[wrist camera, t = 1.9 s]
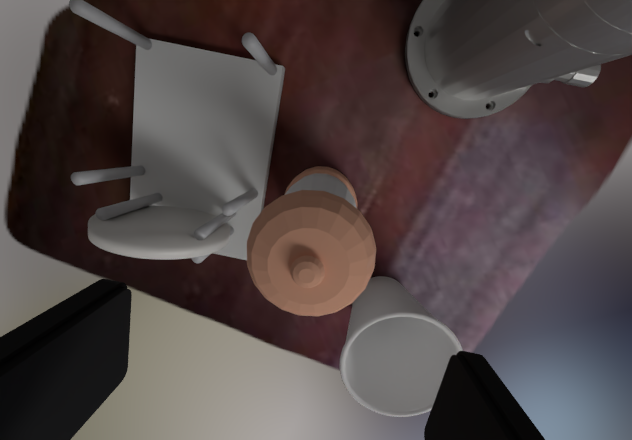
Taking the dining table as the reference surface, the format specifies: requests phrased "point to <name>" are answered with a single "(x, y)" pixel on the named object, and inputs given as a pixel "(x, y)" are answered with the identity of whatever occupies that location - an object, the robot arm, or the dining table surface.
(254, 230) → the salt shaker
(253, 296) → the dining table surface
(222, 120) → the dish rack
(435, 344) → the cup
